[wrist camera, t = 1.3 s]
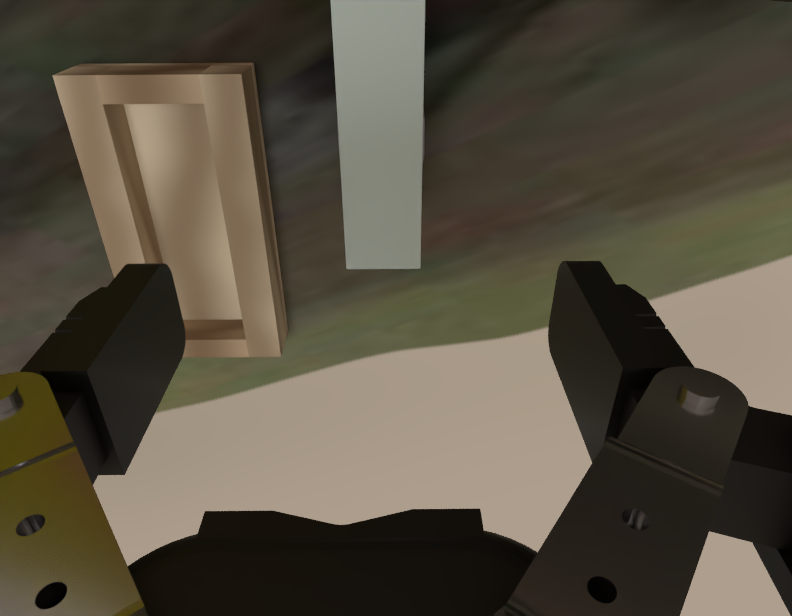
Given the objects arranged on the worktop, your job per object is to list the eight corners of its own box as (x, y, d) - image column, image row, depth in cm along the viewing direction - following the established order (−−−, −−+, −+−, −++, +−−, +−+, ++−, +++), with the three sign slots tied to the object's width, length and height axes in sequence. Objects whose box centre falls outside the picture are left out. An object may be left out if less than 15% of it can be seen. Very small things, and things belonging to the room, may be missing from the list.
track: (253, 62, 27) (241, 74, 25) (288, 330, 35) (280, 356, 33) (80, 63, 27) (52, 75, 25) (154, 331, 35) (138, 357, 33)
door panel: (420, -27, 25) (428, -11, 18) (417, 194, 31) (422, 268, 24) (345, -26, 25) (326, -10, 18) (355, 194, 31) (344, 269, 24)
